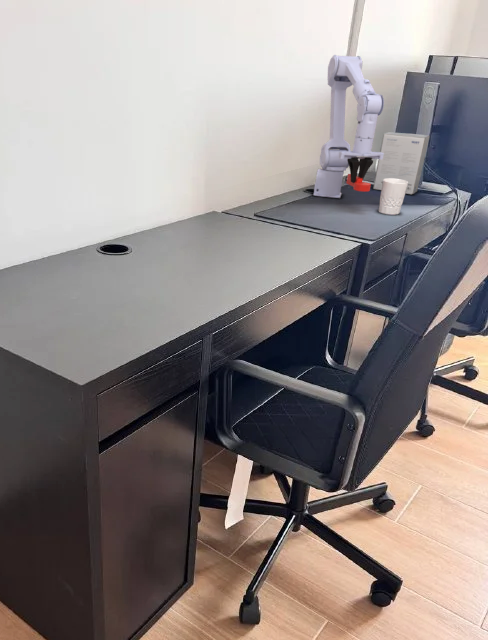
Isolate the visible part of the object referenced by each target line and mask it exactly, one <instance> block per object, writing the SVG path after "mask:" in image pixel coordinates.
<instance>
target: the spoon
mask: <svg viewBox="0 0 488 640" xmlns="http://www.w3.org/2000/svg"><path fill="white" fill-rule="evenodd" d="M362 180H363V181H362ZM345 183H346V184H347V185H349V186H351V187H353V190H354V191H356V192H363V193H364V192H367V193H368V192H370V191H371V185H372V183H370V182H366V181H364V179H362V178H360V177H358V175H357V177H356V181H355V183H352V182H351V174H350V173H347V178H346V182H345Z"/></svg>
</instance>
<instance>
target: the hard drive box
mask: <svg viewBox="0 0 488 640" xmlns="http://www.w3.org/2000/svg"><path fill="white" fill-rule="evenodd" d="M429 141H430V135H427V134H415V133H407V132H406V133H405V132H402V133H401V132H393V131H388V132H383V133H382V139H381V145H380V149H379V152H382V153H384V155H383V159H377V160H378V161H377V165H376V171H375V176H374V180H373V186H372V189H373V190H377V191H381V189H382V183H383V179H388V178H392V179H401V180H405V181H408V185H407V189H406V193H405V195H415V194H416V193H417V192H418V190H419V184H420V180H421V176H422V173H423V172H422V171H423V167H424V163H425V159H426V154H427V151H428V150H427V149H428V144H429Z"/></svg>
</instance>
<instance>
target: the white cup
mask: <svg viewBox="0 0 488 640" xmlns="http://www.w3.org/2000/svg"><path fill="white" fill-rule="evenodd" d="M407 185H408V181H405V180H401V179H392V178H388V179H383V183H382V189H381V190H380V195H379V196H380V197H379V205H378V212H379V213H380V214H383V215H389V216H390V215H391V216H395V215H399V214H400V213H401V210H402V205H403V203H404V200H405V196H406V194H405V193H406V189H407Z"/></svg>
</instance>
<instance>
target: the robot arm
mask: <svg viewBox="0 0 488 640" xmlns="http://www.w3.org/2000/svg"><path fill="white" fill-rule="evenodd" d="M363 63H364V62H363V59H362V57H361V55H357V56H356V55H355V56H354V55H337V54H333V55H332V56H331V58H330V59H329V61H328V66H327V85H328V86H329V87H330V109H329V111H330V113H329V115H330V117H329V140H327V141H326V142H325V143H324V144H323V145H322V146H321V149H320V155H319V166H320V167H321V168H318V169H317V171H316V177H315V182H314V185H313V186H314V187H313V196H315V197H324V198H332V199H333V198H334V199H341V196H342V194H343V193H342V192H341V190H342V184H343V178H344V173H345V171H347V169H349V174H351V182H352V183H355V181H356V177H357V176H358V177H360V178H362V179H363V180H362V182H364V178H365V177H366V174H367V172H368V171H369V170H370V168H371V166H372V165H373V164H374V160H379V159H383V155H384V153H382V152H380V151H372V149H373V144H374V138H375V134H376V130H377V129H376V128H377V123H378V118H379V116H380V115H381V114H382V112H383V110H384V108H385V107H384V106H385V99H384V96H383V94H380V93H376V91H375V89H374V87H373V84H372V83H371V81H370V79H368V78H365V76H364V74H363V71H362V70H363ZM352 86H353V87H352ZM350 87H352V94H353V96H354V98H355V100H356V102H357V105H356V113H357V115H356V121H357V125H356V130H355V136H354V142H353V146H352V150H351V144H350V143H349V142H348V141H347V140H345V127H346V126H345V125H346V124H345V123H346V99H347V89H348V88H350Z"/></svg>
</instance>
